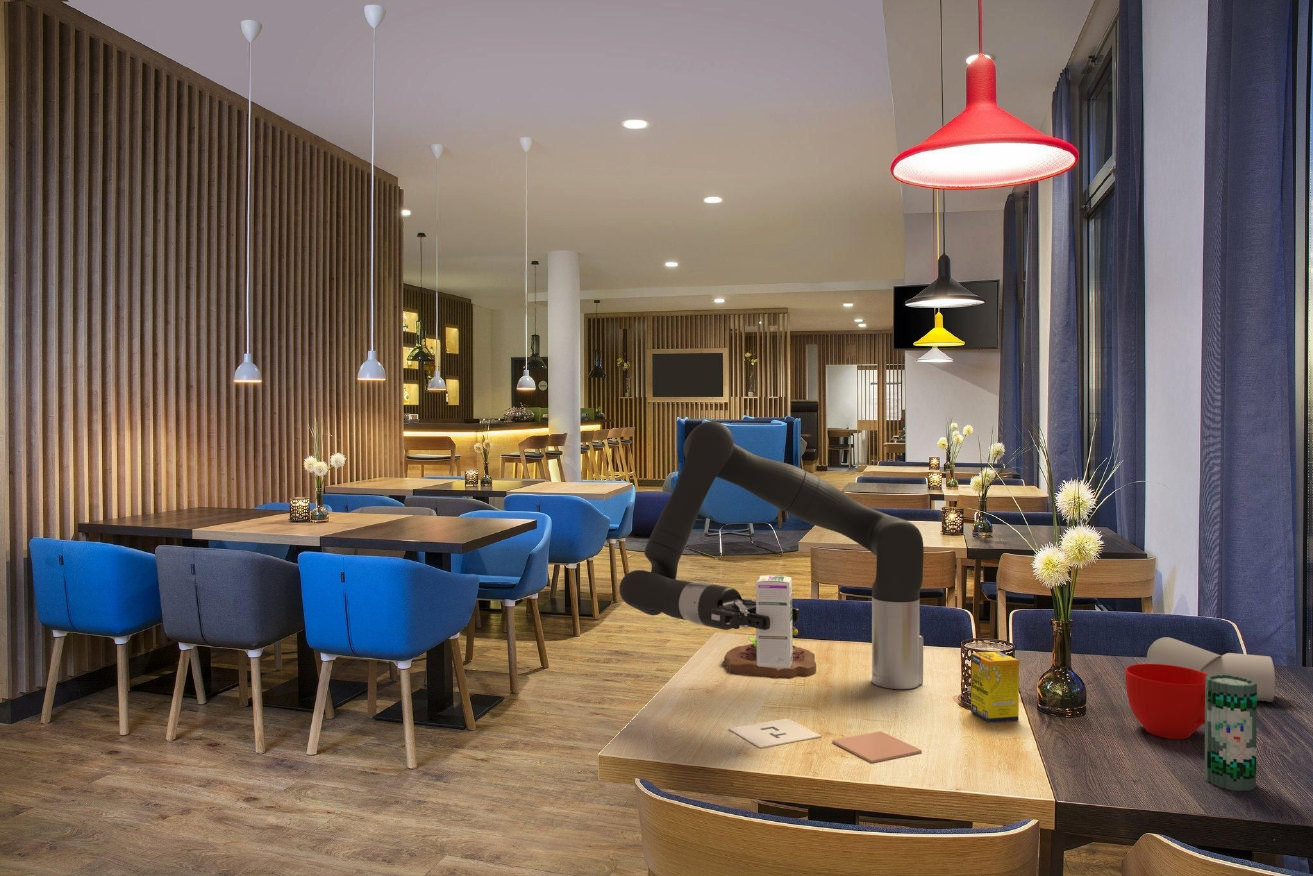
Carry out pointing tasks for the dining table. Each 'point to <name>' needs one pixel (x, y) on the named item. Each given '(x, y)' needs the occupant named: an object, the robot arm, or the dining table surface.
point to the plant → (746, 664)
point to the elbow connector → (1216, 663)
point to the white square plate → (774, 733)
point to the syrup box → (775, 621)
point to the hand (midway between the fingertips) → (783, 619)
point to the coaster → (876, 746)
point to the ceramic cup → (1167, 698)
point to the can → (1230, 731)
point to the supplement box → (995, 686)
